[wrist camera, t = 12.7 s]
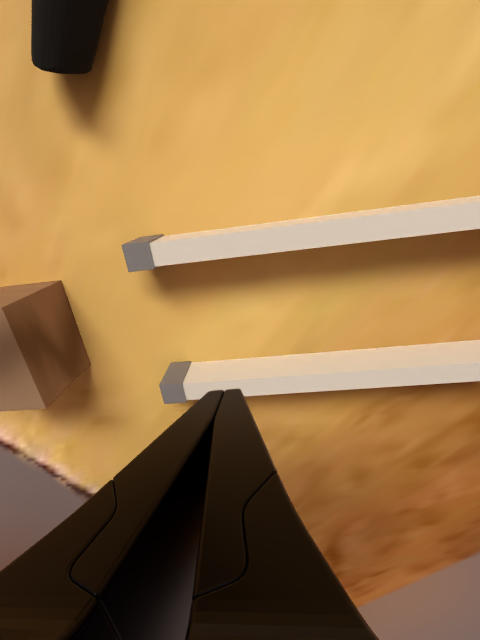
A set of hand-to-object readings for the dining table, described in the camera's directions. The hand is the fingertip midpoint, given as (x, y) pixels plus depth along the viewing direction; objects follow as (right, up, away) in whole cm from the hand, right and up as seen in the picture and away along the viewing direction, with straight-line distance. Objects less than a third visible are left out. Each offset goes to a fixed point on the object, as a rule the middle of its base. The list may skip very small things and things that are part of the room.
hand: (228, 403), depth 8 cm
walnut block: (-13, +2, +13) cm, 19 cm away
